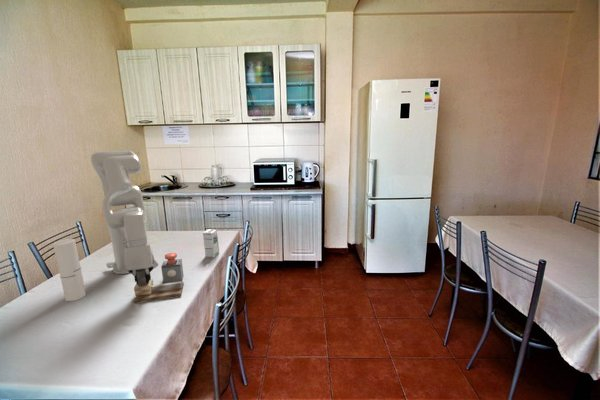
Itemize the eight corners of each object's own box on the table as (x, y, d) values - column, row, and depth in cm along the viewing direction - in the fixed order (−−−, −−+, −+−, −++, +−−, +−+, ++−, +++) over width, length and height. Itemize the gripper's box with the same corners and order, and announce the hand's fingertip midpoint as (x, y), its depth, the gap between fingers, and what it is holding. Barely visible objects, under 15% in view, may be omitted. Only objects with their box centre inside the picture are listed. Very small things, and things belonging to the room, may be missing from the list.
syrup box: (214, 257, 164) (212, 232, 160) (204, 256, 165) (202, 232, 162) (219, 253, 169) (217, 229, 166) (209, 252, 170) (207, 228, 167)
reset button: (165, 270, 135) (163, 258, 133) (167, 265, 140) (165, 253, 138) (177, 269, 136) (176, 256, 135) (178, 264, 141) (177, 252, 139)
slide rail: (134, 303, 121) (133, 294, 120) (140, 290, 130) (139, 282, 129) (181, 296, 125) (180, 287, 125) (183, 284, 135) (182, 276, 134)
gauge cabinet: (163, 284, 135) (161, 266, 133) (165, 278, 141) (163, 261, 139) (182, 282, 137) (180, 264, 135) (183, 276, 143) (181, 258, 141)
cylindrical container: (89, 293, 129) (79, 239, 123) (73, 302, 122) (60, 246, 116) (78, 290, 131) (67, 238, 125) (61, 299, 125) (48, 244, 119)
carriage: (135, 296, 122) (131, 273, 120) (138, 289, 128) (135, 267, 126) (150, 294, 124) (147, 271, 122) (153, 287, 130) (150, 265, 127)
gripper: (111, 247, 115) (119, 289, 119) (157, 242, 119) (162, 283, 123) (117, 240, 122) (124, 280, 126) (160, 236, 126) (165, 275, 131)
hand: (143, 281), depth 125 cm, fingers closed on carriage, 3 cm apart
